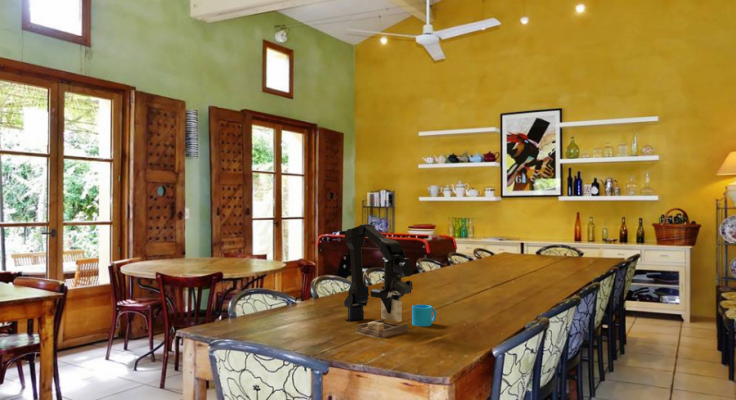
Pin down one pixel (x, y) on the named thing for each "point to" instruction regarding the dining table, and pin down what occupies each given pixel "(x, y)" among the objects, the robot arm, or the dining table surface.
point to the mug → (422, 315)
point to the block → (392, 311)
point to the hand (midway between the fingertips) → (391, 313)
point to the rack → (388, 330)
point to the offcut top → (375, 325)
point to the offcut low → (375, 330)
